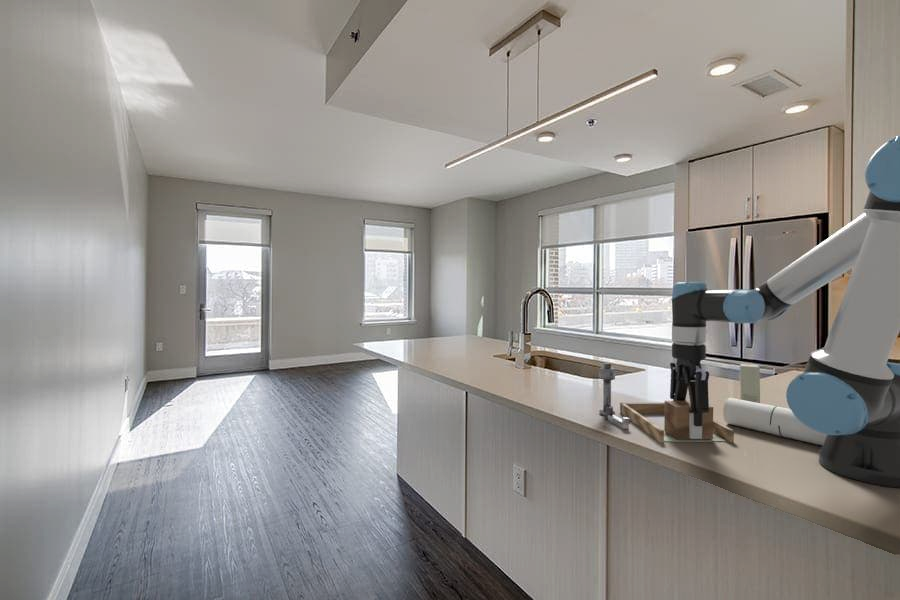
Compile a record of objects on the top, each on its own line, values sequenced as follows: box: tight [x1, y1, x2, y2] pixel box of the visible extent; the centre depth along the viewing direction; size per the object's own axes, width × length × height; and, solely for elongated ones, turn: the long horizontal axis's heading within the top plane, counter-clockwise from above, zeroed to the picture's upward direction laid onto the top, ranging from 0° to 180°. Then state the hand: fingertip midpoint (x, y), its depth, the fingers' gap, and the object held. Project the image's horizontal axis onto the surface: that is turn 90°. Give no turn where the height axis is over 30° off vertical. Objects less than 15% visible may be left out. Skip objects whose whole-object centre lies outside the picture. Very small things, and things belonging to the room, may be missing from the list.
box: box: [739, 363, 761, 403], centre depth 136 cm, size 5×4×13 cm
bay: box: [619, 402, 735, 444], centre depth 116 cm, size 25×18×3 cm
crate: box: [663, 400, 714, 439], centre depth 108 cm, size 6×9×8 cm, turn 89°
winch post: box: [598, 362, 616, 417], centre depth 127 cm, size 4×4×15 cm
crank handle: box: [605, 405, 631, 430], centre depth 118 cm, size 10×2×4 cm, turn 9°
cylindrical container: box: [722, 397, 827, 447], centre depth 108 cm, size 7×7×25 cm
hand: (688, 433), depth 108 cm, fingers closed on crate, 6 cm apart
